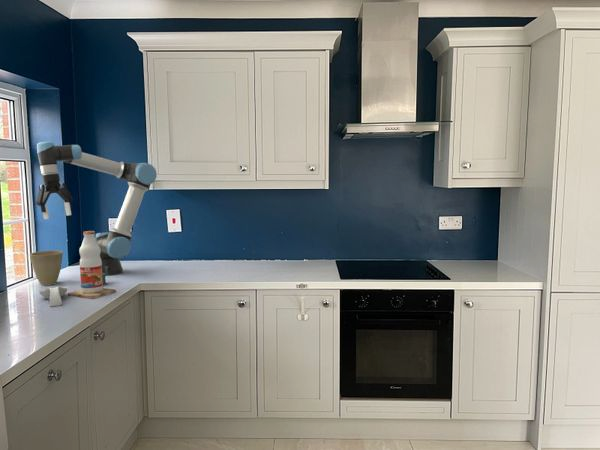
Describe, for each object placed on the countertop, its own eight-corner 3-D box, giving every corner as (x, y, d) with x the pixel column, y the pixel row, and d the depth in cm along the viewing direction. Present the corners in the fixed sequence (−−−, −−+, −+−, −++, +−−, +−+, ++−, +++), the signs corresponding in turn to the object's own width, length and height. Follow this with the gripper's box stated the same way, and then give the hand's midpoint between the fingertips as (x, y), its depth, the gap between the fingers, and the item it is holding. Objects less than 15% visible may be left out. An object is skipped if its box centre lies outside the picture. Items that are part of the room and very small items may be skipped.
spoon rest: (38, 296, 221) (37, 281, 220) (67, 293, 227) (66, 278, 226) (40, 308, 201) (39, 292, 200) (71, 304, 207) (71, 288, 206)
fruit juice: (106, 288, 229) (103, 230, 226) (97, 293, 220) (94, 232, 217) (87, 288, 229) (84, 230, 226) (77, 293, 220) (73, 232, 217)
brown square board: (92, 288, 234) (92, 286, 234) (115, 291, 228) (115, 289, 228) (68, 295, 221) (67, 293, 221) (92, 299, 215) (91, 296, 215)
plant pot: (27, 284, 245) (24, 253, 243) (57, 279, 256) (55, 249, 254) (38, 288, 235) (36, 256, 233) (69, 283, 246) (67, 252, 244)
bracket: (83, 285, 241) (82, 268, 240) (99, 281, 249) (98, 264, 248) (96, 287, 237) (95, 269, 236) (111, 283, 245) (110, 266, 244)
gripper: (64, 173, 248) (72, 214, 250) (22, 176, 225) (30, 221, 227) (75, 172, 245) (83, 213, 248) (34, 174, 222) (42, 219, 224)
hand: (58, 217), depth 237 cm, fingers open, 13 cm apart
